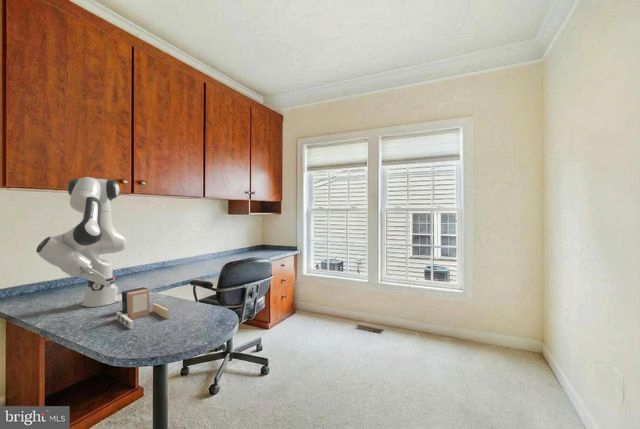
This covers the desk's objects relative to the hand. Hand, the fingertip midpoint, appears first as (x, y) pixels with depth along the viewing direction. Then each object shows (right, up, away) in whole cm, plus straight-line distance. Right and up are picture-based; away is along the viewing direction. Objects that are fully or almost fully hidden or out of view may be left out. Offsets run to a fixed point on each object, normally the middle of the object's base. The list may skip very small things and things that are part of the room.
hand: (106, 284), depth 132 cm
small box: (0, -18, +20) cm, 27 cm away
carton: (+9, -18, +10) cm, 22 cm away
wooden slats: (+13, -17, +5) cm, 22 cm away
